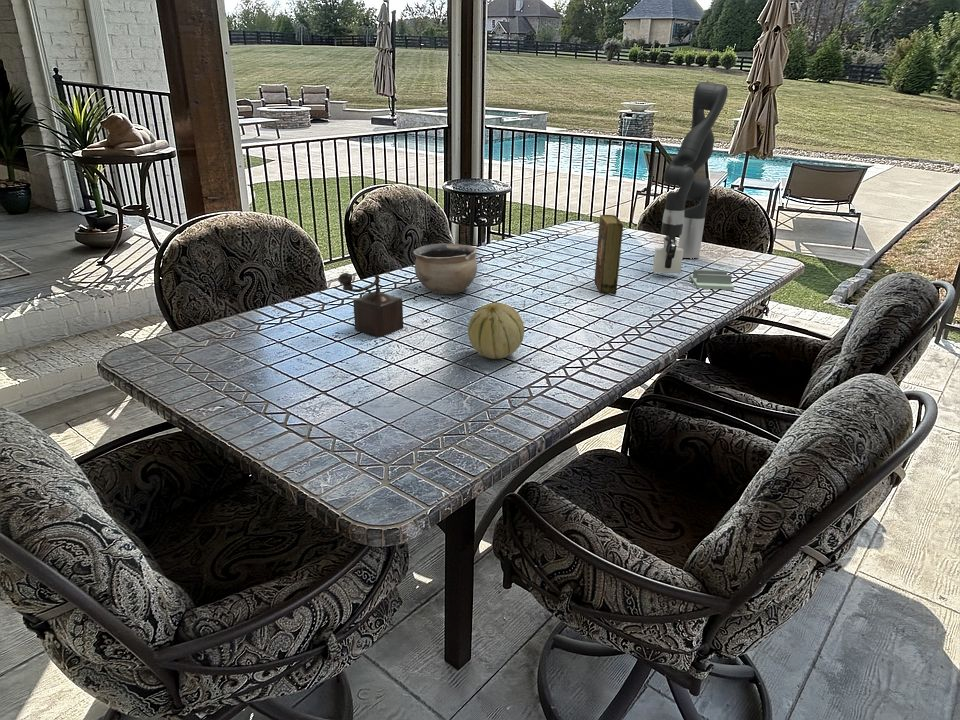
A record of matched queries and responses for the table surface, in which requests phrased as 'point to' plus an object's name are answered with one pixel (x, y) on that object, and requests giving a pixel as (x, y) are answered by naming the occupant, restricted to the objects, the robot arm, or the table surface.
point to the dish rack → (711, 279)
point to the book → (608, 254)
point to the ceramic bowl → (445, 267)
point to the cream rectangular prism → (661, 258)
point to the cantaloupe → (496, 330)
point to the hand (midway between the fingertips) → (666, 266)
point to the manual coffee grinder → (375, 309)
